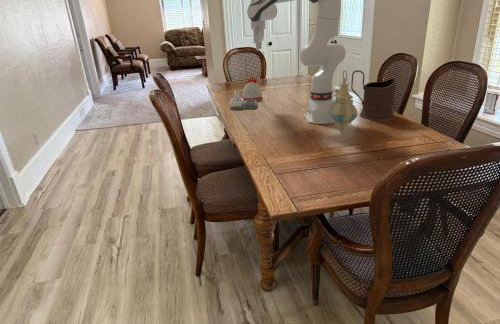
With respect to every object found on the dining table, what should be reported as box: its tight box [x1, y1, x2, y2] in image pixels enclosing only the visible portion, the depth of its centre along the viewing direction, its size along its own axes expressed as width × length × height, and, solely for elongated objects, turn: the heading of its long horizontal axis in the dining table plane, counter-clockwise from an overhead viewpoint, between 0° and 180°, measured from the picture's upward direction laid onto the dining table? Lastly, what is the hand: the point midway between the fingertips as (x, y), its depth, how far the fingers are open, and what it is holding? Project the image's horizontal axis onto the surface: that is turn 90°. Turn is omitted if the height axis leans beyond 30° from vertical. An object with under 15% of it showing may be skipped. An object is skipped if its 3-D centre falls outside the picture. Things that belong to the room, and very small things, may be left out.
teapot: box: [329, 69, 359, 134], centre depth 163 cm, size 24×12×30 cm, turn 2°
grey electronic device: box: [229, 97, 258, 110], centre depth 222 cm, size 12×16×5 cm
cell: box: [233, 91, 241, 101], centre depth 221 cm, size 4×4×9 cm
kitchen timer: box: [241, 76, 263, 101], centre depth 240 cm, size 14×14×15 cm
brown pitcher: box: [350, 69, 397, 122], centre depth 187 cm, size 18×24×25 cm
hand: (259, 49), depth 215 cm, fingers open, 8 cm apart
